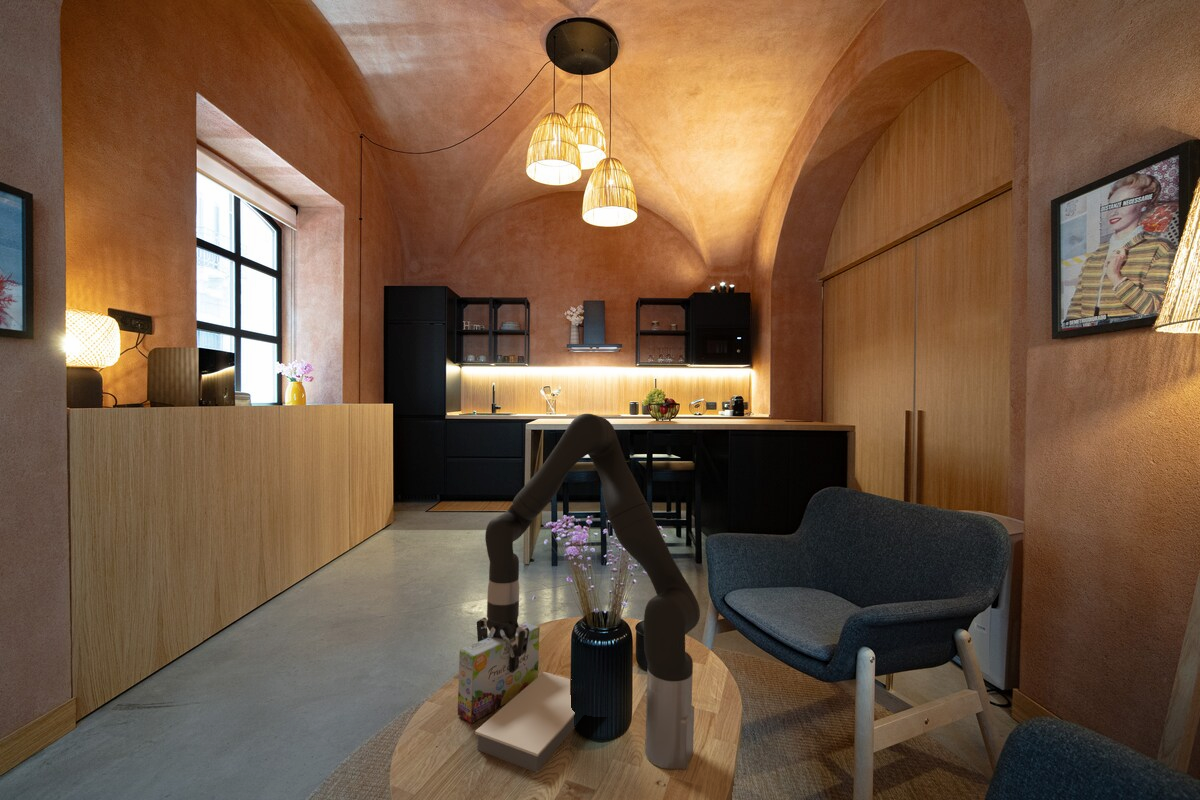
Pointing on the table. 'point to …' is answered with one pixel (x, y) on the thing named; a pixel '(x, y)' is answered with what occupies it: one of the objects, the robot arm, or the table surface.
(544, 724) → the display podium
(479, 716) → the snack box
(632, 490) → the robot arm
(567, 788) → the table surface
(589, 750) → the table surface
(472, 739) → the table surface
